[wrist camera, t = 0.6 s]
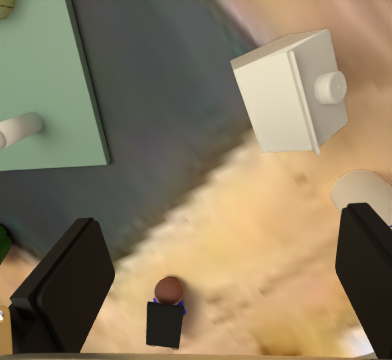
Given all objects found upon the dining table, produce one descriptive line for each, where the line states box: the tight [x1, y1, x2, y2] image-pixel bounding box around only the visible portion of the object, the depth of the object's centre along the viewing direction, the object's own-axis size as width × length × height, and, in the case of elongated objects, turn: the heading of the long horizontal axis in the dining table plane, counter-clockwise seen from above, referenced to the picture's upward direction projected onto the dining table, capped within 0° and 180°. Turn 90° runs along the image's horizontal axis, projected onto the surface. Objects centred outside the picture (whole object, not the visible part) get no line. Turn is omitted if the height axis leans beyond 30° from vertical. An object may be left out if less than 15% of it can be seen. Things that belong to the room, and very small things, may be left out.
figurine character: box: [146, 278, 186, 350], centre depth 51 cm, size 7×8×15 cm
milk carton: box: [231, 29, 348, 155], centre depth 26 cm, size 7×7×19 cm
